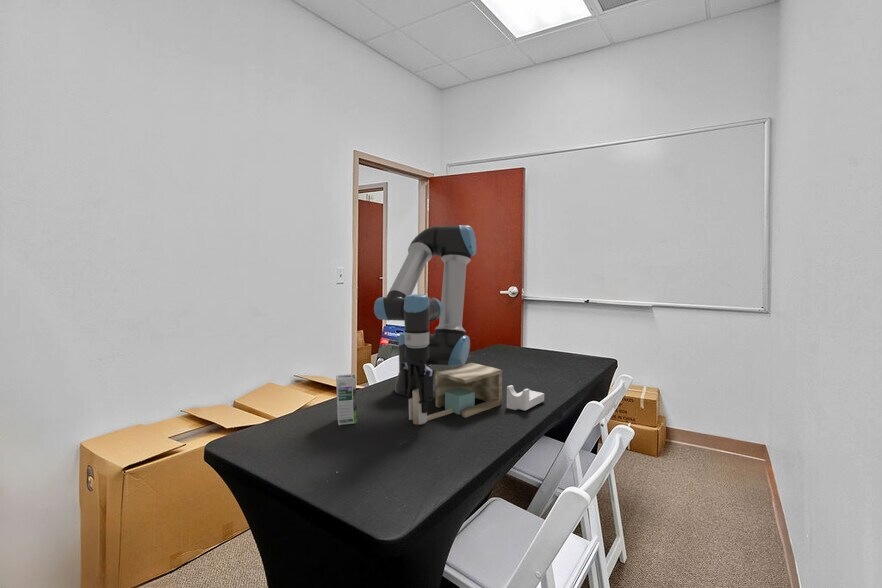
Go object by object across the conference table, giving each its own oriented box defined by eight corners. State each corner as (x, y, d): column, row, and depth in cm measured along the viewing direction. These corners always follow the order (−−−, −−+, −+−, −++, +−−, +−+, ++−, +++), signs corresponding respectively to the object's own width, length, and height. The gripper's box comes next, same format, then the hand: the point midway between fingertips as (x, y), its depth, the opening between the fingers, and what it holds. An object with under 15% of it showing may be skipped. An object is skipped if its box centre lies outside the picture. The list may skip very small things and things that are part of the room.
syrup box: (338, 425, 131) (336, 379, 130) (337, 418, 137) (336, 374, 136) (357, 423, 133) (355, 377, 131) (355, 417, 138) (354, 372, 137)
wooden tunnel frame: (435, 406, 147) (435, 371, 146) (472, 395, 159) (472, 362, 158) (465, 417, 137) (465, 379, 136) (501, 404, 149) (502, 369, 148)
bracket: (525, 413, 141) (525, 390, 140) (506, 408, 146) (506, 386, 145) (544, 403, 151) (544, 382, 150) (526, 399, 155) (526, 378, 155)
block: (407, 420, 135) (406, 389, 134) (460, 404, 149) (460, 376, 148) (421, 427, 129) (420, 394, 129) (474, 409, 144) (474, 380, 143)
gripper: (390, 343, 135) (391, 416, 137) (425, 351, 122) (426, 431, 124) (409, 340, 140) (410, 410, 142) (445, 347, 127) (445, 424, 129)
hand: (417, 420), depth 133 cm, fingers closed on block, 4 cm apart
